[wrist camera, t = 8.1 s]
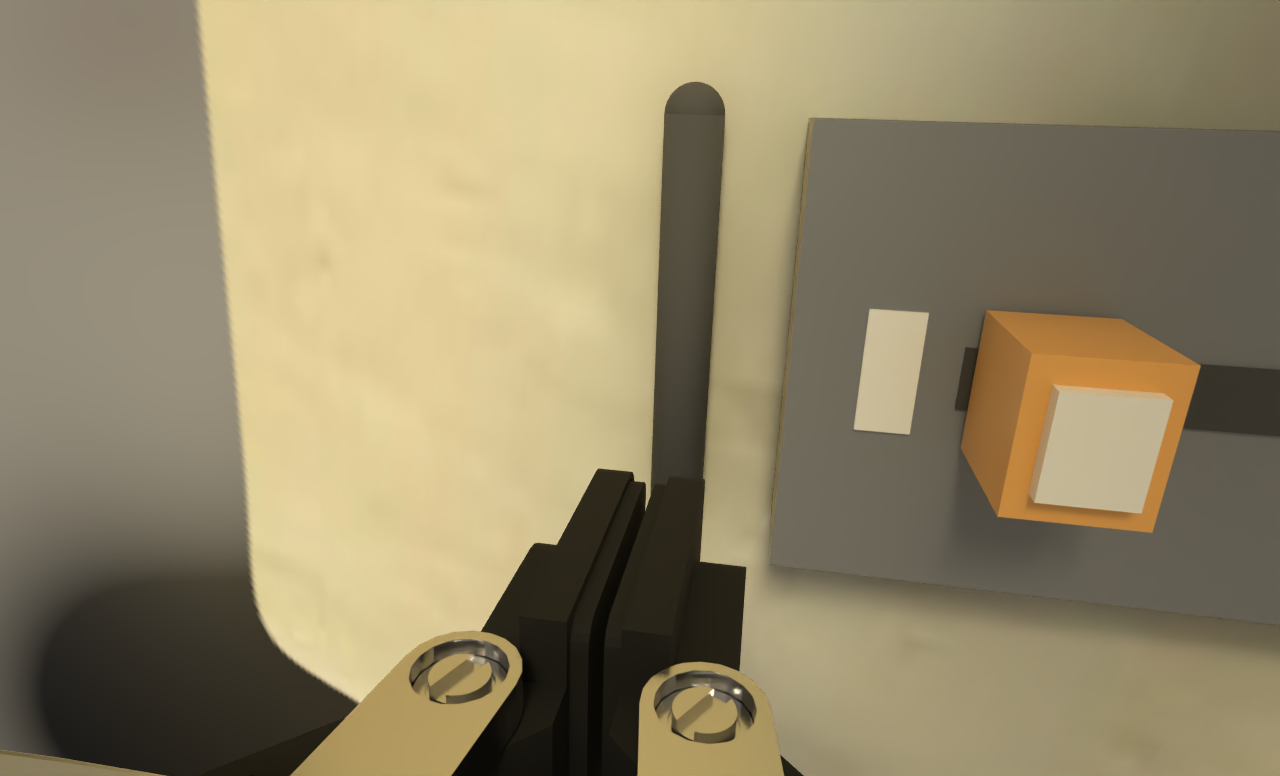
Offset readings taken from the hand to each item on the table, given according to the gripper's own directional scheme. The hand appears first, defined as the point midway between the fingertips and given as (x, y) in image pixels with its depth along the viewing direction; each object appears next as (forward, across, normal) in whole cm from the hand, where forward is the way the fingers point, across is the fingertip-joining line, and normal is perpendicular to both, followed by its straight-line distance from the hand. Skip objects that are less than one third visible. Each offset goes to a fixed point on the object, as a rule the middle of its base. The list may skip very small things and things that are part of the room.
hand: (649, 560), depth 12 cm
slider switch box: (+12, -12, -1) cm, 17 cm away
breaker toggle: (+9, -8, -1) cm, 12 cm away
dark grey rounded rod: (+12, +1, -1) cm, 12 cm away
